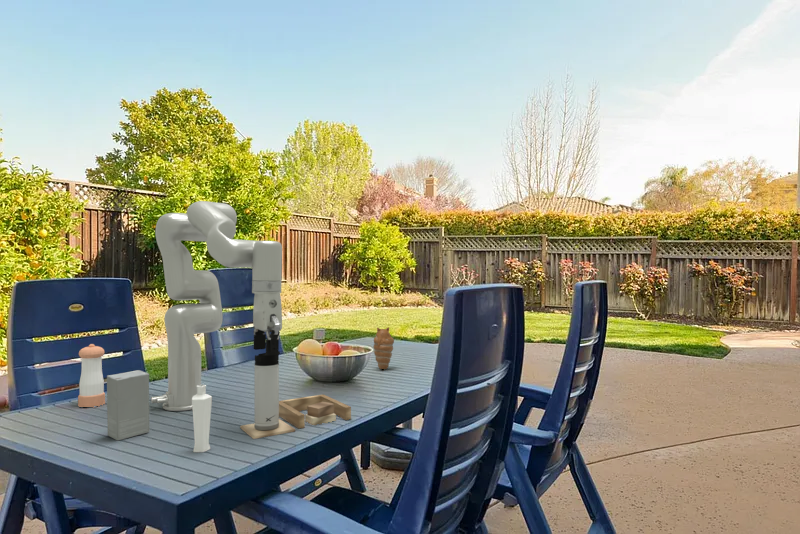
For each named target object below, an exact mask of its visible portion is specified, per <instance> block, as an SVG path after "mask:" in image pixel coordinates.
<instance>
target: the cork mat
mask: <svg viewBox="0 0 800 534" xmlns="http://www.w3.org/2000/svg"><path fill="white" fill-rule="evenodd" d="M239 428H240V429H241V430H242V431H243V432H245V434H247V435H248V436H249V437H250V438H252V439H253V440H255V439H257V440H258V439H262V438H266V437H272V436H277V435H283V434H287V433H289V434H290V433H294V432H296V428H294V427H293V426H291V425H289V424H288V423H286V422H285V421H284V420H282V419H280V418H279V426H278V428H276V429H273V430H267V431H261V430H256V429H255V427H254V423H250V424H244V425H243V424H242V425H240V427H239Z"/></svg>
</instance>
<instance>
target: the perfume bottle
mask: <svg viewBox="0 0 800 534" xmlns="http://www.w3.org/2000/svg"><path fill="white" fill-rule="evenodd" d="M206 388H207V385H206V384H201V385H197V394H196V395H195V396H193V397H192V408H193V409H192V420H193V422H192V423H193V435H194V436H193V437H194V446H193V450H192V451H193V453H205V452H207V451H209V450H211V445H210V441H209V440H210V431H211V430H210V428H211V415H212V403H213V396H212V395H210V394H208V393H207V392H206Z"/></svg>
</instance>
